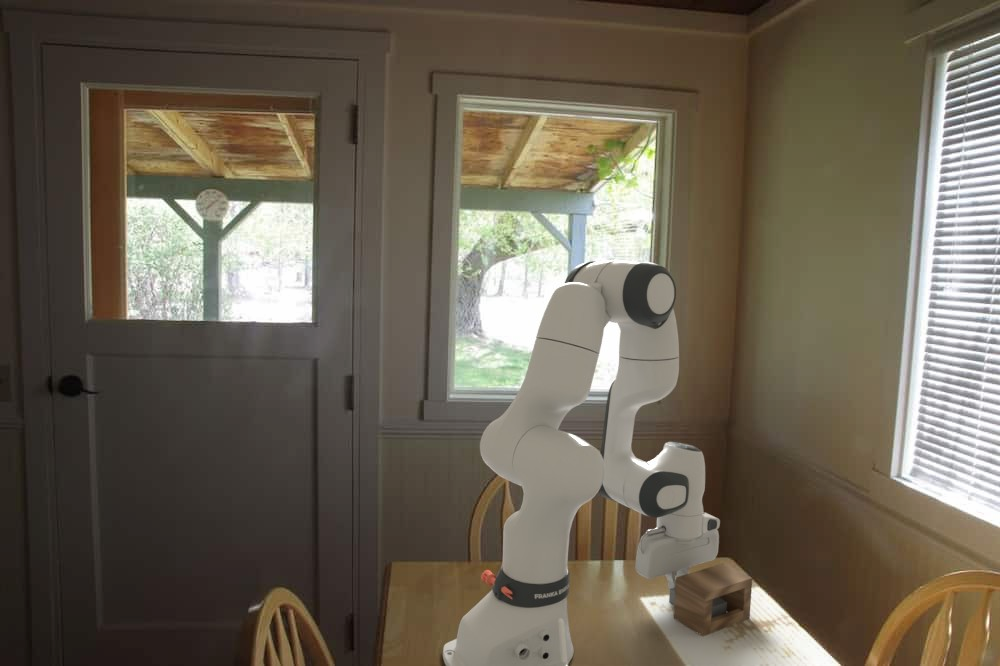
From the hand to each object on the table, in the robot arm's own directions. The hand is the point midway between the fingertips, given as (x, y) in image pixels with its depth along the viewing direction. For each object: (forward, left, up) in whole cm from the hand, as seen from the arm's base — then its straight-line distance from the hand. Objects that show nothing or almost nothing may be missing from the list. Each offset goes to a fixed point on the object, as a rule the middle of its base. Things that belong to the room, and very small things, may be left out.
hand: (675, 588), depth 130 cm
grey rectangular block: (0, -5, -2) cm, 6 cm away
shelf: (0, -9, -2) cm, 9 cm away
